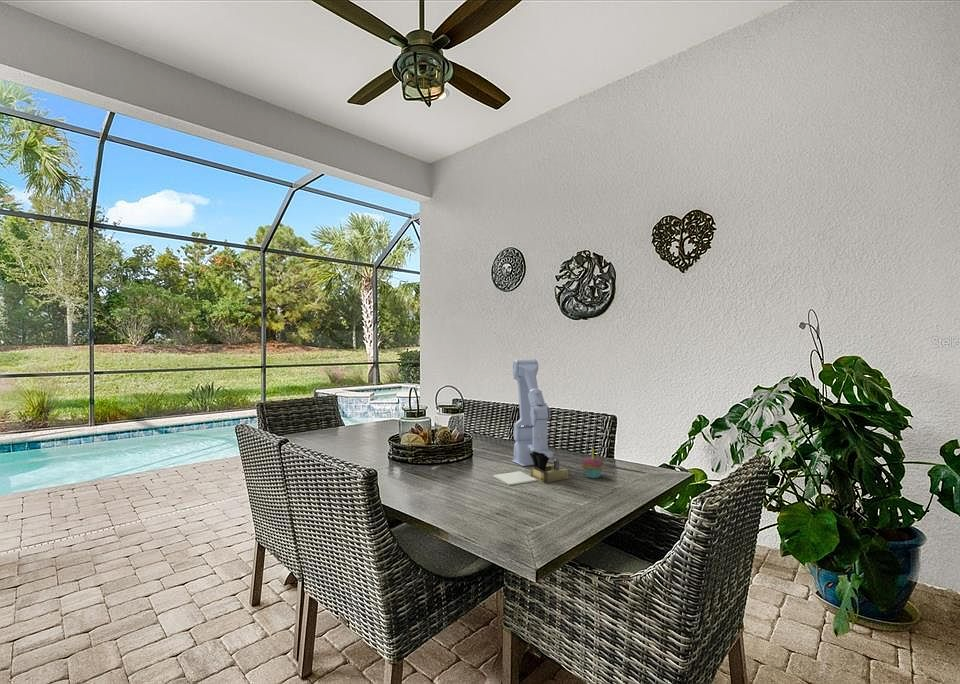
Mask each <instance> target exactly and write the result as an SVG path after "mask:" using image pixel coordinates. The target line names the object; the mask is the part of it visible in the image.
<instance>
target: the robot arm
mask: <svg viewBox="0 0 960 684" xmlns="http://www.w3.org/2000/svg"><path fill="white" fill-rule="evenodd" d="M538 372H539V361H538V360H537V359H536V358H533V359H514V360H513V362H512V375H513V376H512V377H513V379H514V380H516V381H517V382H516V383H517V389H518V390H517V391H518V405H519V419H518V420H517V421H516V422H514V423H513V433H512V434H513V439H514V441H515V443H514V444H513V459H512V460H511V461H512V462H513V463H515V464H517V465H520V466H522V467H527V466H533V467H536V466H538V468H539V469H541V470H543V471H545V468H546V465H548V462H549V460H550V458H554V452H553V451H552V450H550V449H549V448H548V421H549V420H550V417H551V410H550V407H549V405H548V404H547V402H545V399H544V395H543V391H542V390H540V389H539V386H538V379H537V375H538Z"/></svg>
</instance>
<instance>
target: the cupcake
mask: <svg viewBox="0 0 960 684" xmlns="http://www.w3.org/2000/svg"><path fill="white" fill-rule="evenodd" d="M594 448H595V447H592V448H591V456H589V457H585V458H584V459H582V461H581V463H580V464H581V468H584V471H585V475H586V477H587V478H590V479H597V478H600V477H601V472H602V470H603V469H604V468H605V463H604V461H603V460H602V459H600V458H598V457H594V454H595V453H594V451H595V450H594Z"/></svg>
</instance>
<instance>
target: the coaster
mask: <svg viewBox="0 0 960 684" xmlns="http://www.w3.org/2000/svg"><path fill="white" fill-rule="evenodd" d="M492 477H493V478H494V479H496V480H498V481H500V482H502V483H503V484H505V485H507V486H515V485H522V484H528V483H534V482H537V481H538V480H537V479H535V478H533V477H531V475H529V474H526V473H525V472H522V471H521V470H519V471H512V472H507V473H500V474H499V473H498V474H494V475H492Z"/></svg>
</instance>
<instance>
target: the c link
mask: <svg viewBox="0 0 960 684" xmlns="http://www.w3.org/2000/svg"><path fill="white" fill-rule="evenodd" d="M530 476H531V477H533V478H535V479H537V481H539V482H541V483H543V484H546V483H550V482H551V483H552V482H556V481H557V482H558V481H561V480H562V481H563V480H568V479H569V469H567V468H565V467H564V468H559V469H557V470H554V463H551V464H547V465H546V468H545V471H543V470H541V469H539V468H538V466H536V467H535V466H531V467H530Z"/></svg>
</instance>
